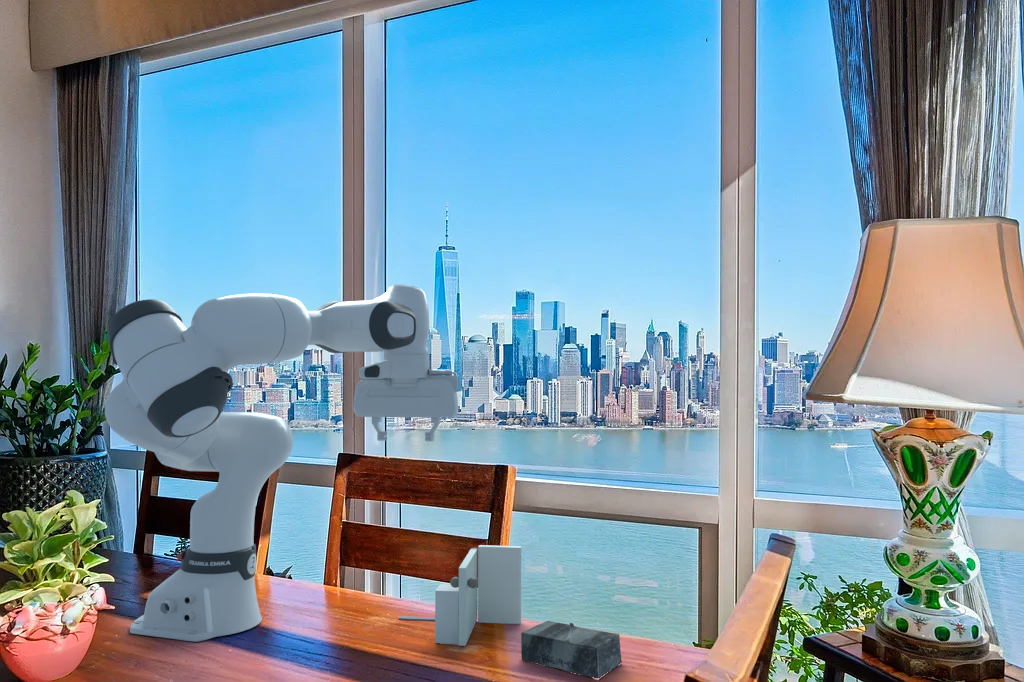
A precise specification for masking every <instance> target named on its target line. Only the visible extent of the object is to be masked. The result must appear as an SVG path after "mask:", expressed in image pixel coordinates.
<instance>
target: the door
mask: <svg viewBox="0 0 1024 682" xmlns="http://www.w3.org/2000/svg"><path fill="white" fill-rule="evenodd" d="M449 582H450V583H449V584H451V586H452V587H454V588H457V587H459V631H458V644H457V645H458V646H459V647H460V646H462V647H463V646H464V647H466V645H467V643H468V641H469V639H470V637H471V634H472V632H473V629H474V627H475V624H477V623H476V622H477V621H478V547H471V548H470V550H469V551H468V553H467V554H466V556H465V557H464V558H463V560H462V562H461V563H460V565H459V567H458V576H453V577H452V578H451V579H450V581H449Z"/></svg>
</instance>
